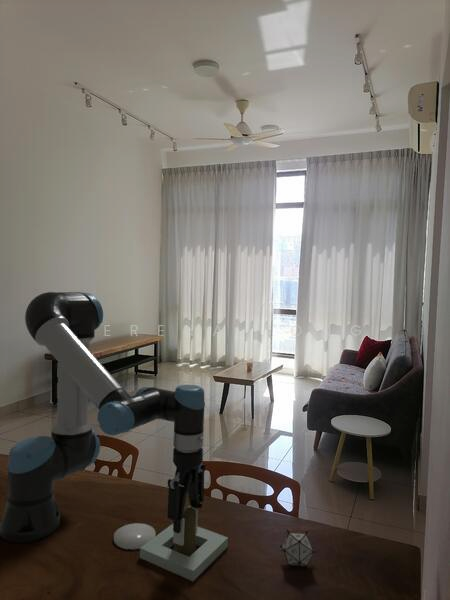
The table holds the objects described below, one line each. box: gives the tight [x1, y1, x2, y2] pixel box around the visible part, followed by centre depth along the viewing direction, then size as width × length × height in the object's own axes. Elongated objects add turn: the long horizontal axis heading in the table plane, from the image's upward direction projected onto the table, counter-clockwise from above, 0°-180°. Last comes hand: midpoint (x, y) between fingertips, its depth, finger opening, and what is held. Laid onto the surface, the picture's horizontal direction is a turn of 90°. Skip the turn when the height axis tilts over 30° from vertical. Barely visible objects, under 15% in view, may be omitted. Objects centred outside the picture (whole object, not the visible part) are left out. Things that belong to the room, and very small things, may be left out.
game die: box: [279, 529, 317, 570], centre depth 108 cm, size 9×8×10 cm
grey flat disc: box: [113, 522, 157, 551], centre depth 118 cm, size 11×11×1 cm
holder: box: [139, 523, 229, 582], centre depth 112 cm, size 16×16×2 cm
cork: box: [173, 506, 198, 557], centre depth 112 cm, size 6×6×11 cm
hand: (185, 537), depth 112 cm, fingers closed on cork, 5 cm apart
